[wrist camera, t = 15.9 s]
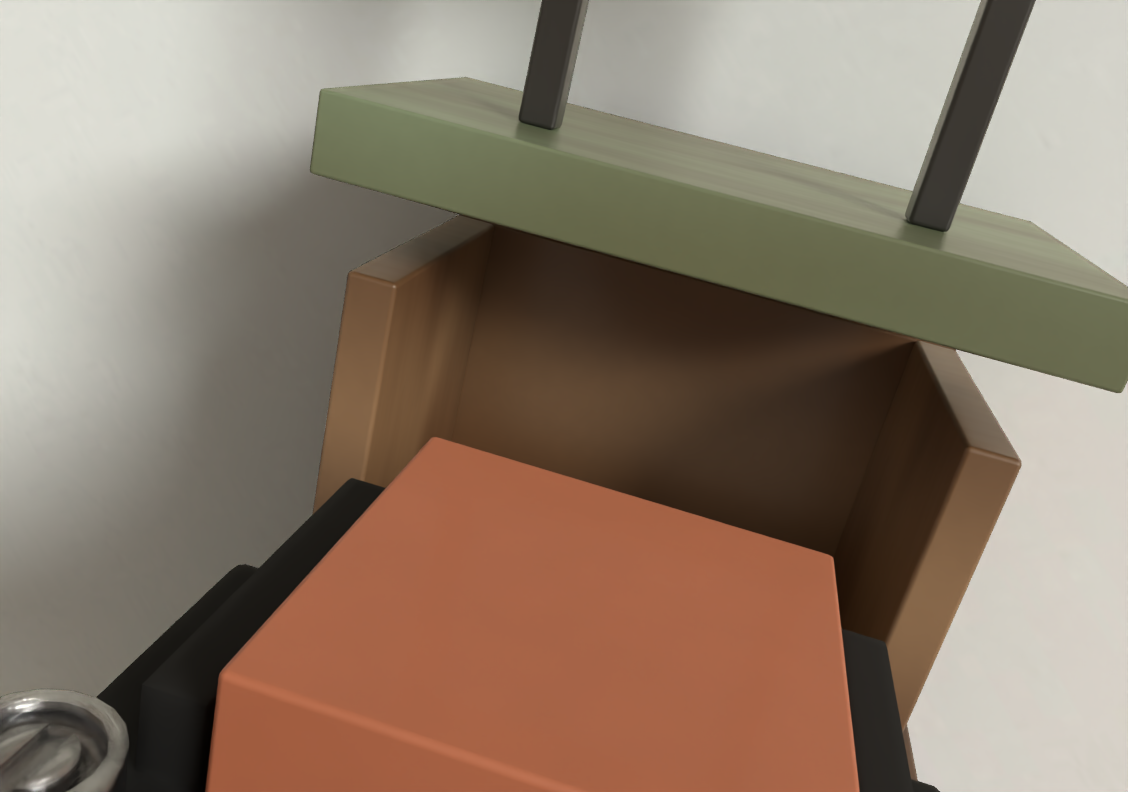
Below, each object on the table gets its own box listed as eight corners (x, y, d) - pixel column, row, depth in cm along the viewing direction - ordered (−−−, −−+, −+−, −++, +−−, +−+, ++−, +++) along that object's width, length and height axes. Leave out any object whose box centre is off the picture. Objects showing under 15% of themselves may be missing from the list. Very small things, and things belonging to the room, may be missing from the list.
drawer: (539, -345, 17) (402, -574, 11) (1208, -209, 16) (1489, -378, 10) (366, 624, 25) (225, 819, 18) (809, 768, 23) (822, 1030, 17)
